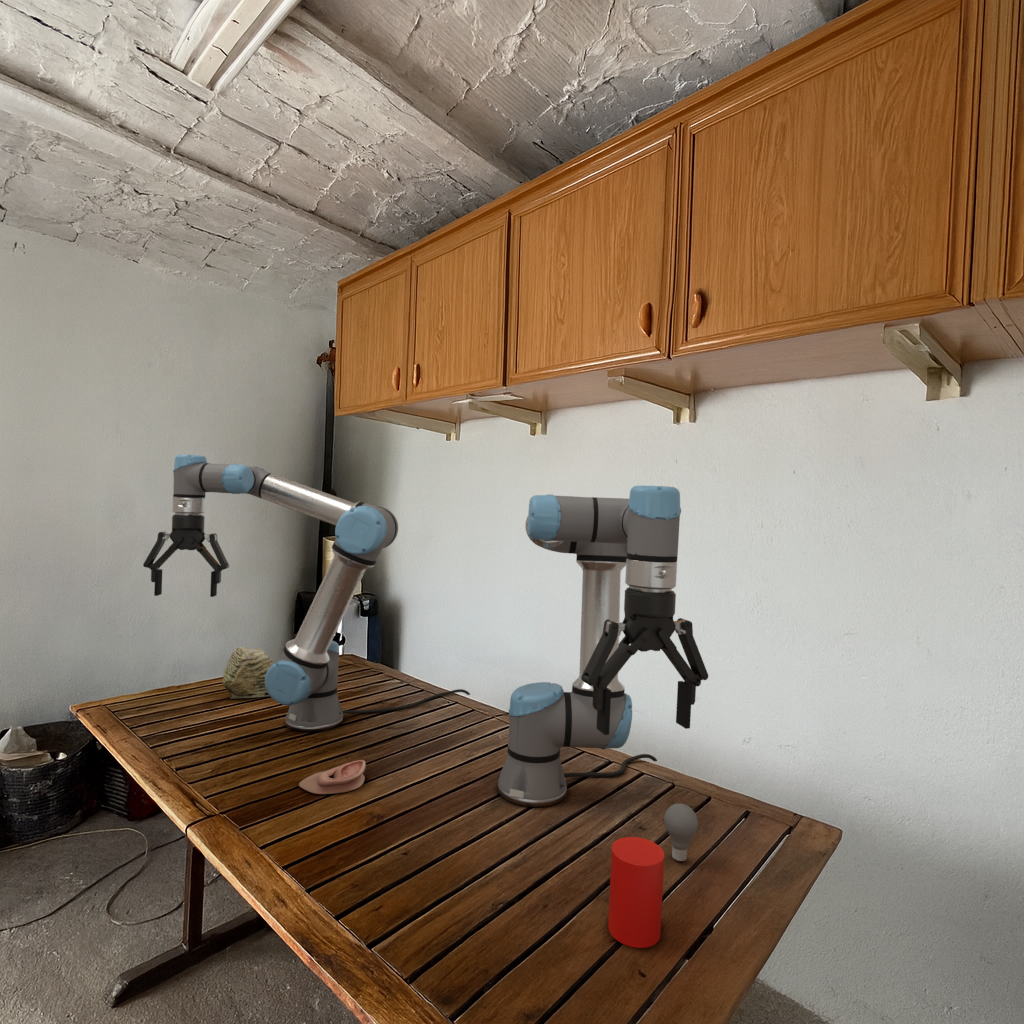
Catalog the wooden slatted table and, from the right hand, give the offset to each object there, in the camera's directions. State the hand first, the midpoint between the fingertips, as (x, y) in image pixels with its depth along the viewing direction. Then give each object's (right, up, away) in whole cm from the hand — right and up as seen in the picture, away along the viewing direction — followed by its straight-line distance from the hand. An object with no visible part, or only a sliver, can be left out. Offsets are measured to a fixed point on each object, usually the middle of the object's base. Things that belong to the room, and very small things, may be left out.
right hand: (643, 728), depth 96 cm
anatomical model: (-60, -27, +44) cm, 79 cm away
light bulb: (+11, -31, +20) cm, 38 cm away
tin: (-1, -31, +1) cm, 31 cm away
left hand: (-105, +11, +70) cm, 126 cm away
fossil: (-100, -25, +102) cm, 146 cm away
